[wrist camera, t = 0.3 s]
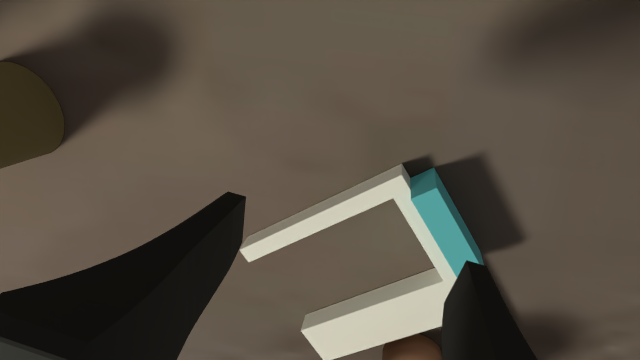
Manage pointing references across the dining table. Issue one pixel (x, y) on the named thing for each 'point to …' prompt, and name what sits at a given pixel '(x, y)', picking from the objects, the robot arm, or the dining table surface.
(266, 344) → the dining table surface
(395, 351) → the peg
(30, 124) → the olive yellow shaker
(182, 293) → the robot arm
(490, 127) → the dining table surface
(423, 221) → the slot rack
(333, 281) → the dining table surface
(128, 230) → the dining table surface
